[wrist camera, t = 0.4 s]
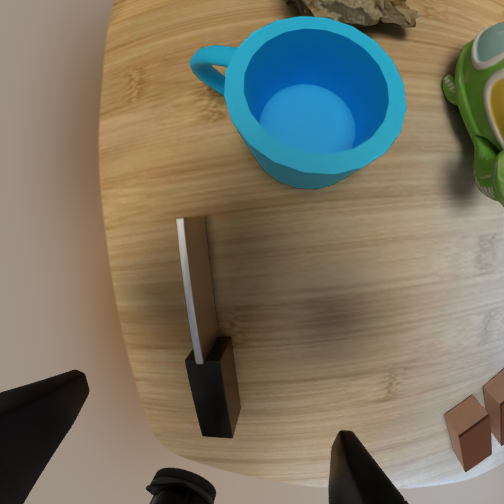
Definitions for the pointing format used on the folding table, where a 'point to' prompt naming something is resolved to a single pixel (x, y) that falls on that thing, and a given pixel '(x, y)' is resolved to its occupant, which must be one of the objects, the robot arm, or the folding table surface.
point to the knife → (206, 337)
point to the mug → (308, 98)
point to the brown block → (470, 432)
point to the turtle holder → (482, 105)
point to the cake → (495, 405)
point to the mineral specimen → (358, 11)
